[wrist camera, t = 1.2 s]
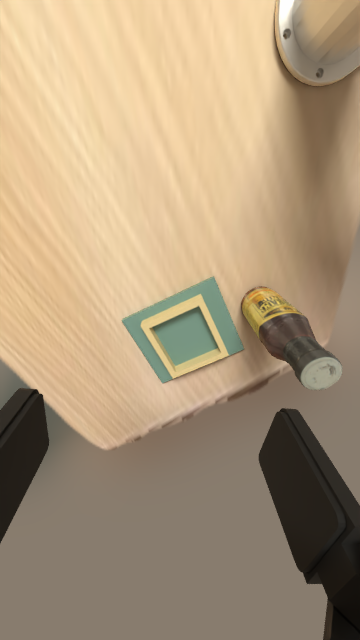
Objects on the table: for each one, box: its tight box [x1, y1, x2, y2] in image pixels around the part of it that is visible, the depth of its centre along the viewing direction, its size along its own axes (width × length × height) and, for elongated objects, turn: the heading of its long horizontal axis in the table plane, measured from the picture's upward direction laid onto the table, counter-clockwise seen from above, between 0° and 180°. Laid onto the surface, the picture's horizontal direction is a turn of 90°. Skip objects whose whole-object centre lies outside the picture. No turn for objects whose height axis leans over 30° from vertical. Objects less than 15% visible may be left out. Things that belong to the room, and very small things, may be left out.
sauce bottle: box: [241, 287, 342, 390], centre depth 31 cm, size 6×6×20 cm
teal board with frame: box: [122, 277, 244, 383], centre depth 41 cm, size 17×15×3 cm
